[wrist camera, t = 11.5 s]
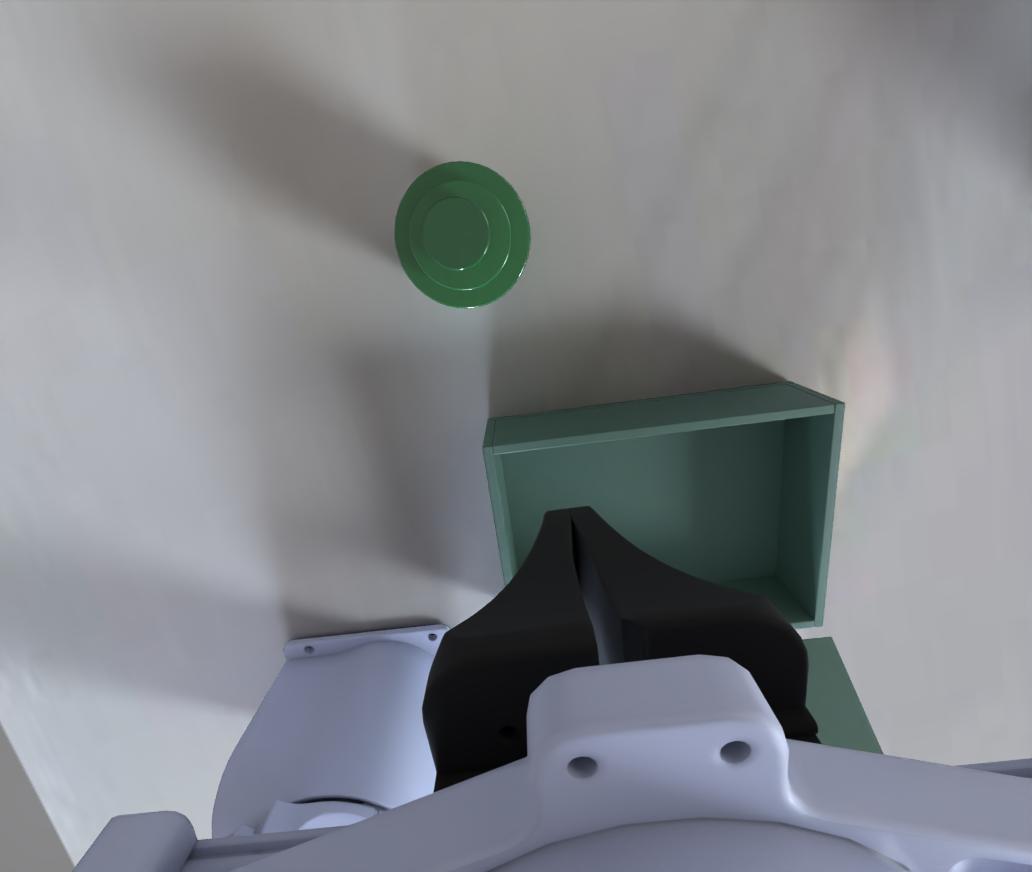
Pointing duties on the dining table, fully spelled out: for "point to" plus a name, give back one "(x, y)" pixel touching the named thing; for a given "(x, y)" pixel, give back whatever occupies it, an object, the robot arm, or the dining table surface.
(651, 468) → the case
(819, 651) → the flap
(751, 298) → the dining table surface
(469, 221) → the bottle
